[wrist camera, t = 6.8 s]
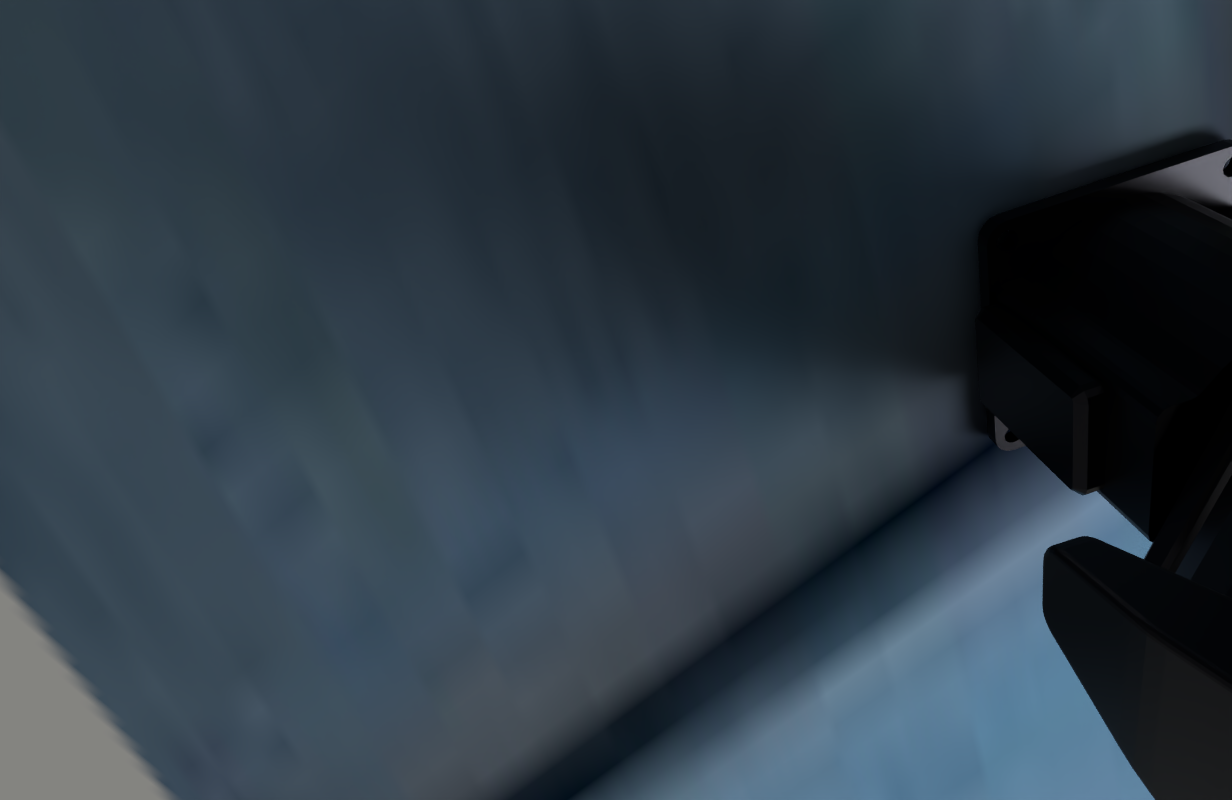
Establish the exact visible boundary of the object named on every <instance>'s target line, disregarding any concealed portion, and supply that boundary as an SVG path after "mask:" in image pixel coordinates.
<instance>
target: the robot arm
mask: <svg viewBox="0 0 1232 800" xmlns="http://www.w3.org/2000/svg"><path fill="white" fill-rule="evenodd" d="M1229 158H1231V159H1230V162H1229V164H1228V165H1227V167H1226V168H1225V169H1223V168H1224V165H1225V163H1226V162H1227V161H1228V159H1229ZM1007 230H1009V233H1008V237H1007V238H1006V239H1005V241H1004V242H1002V243H1000V244H999V245H997V242H998V238H999V237H1000V236H1001V234H1002V233H1004V232H1005V231H1007ZM978 254H979V274H980V294H981V309H980V310H979V312H978V314H977V317H976V319H975V323H976V342H977V360H978V378H979V397H980V401H981V402H982V404H983V405H984V406H985V407H986V412H987V432H988V435H989V438H990V439H991V440H992V441H993V442H994V443H995V444H996V445H997V446H998V447H999V448H1000V449H1002V450H1007V451H1009V450H1015V449H1017V448H1020V447H1023V446H1027V447H1028V448H1029V449H1030V450H1031V451H1032V452H1033V453H1034V454H1035V455H1036V456H1037V457H1038V458H1039V459H1040V460H1041V461H1042V462H1043V463H1044V464H1045V465H1046V466H1047V467H1048V468H1049V469H1050V470H1051V471H1052V472H1053V473H1054V474H1055V475H1056V476H1057V477H1058V478H1059V479H1060V480H1061V481H1062V482H1063V483H1064V484H1066V485H1067V486H1068V487H1069V488H1070V489H1071V490H1073V491H1075V492H1077V493H1079V494H1081V495H1086V494H1089V493H1091V492H1094V491H1097V492H1098V493H1099V494H1101V495H1102V496H1103V497H1104V498H1105V499H1106V500H1107V501H1108V502H1109V503H1110V504H1111V505H1112V506H1113V507H1114V508H1115V509H1116V510H1118V511H1119V512H1120V513H1121V514H1122V515H1123V516H1124V517H1125V518H1126V519H1127V520H1128V521H1129V522H1130V523H1131V524H1132V525H1133V526H1135V527H1136V528H1137V529H1138V530H1139V531H1140V532H1141V533H1142V534H1143V535H1144V536H1145V537H1146V538H1147V539H1148V540H1149V541H1151V542H1153V543H1152V545H1151V547H1150V549H1149V550H1148V552H1147V554H1146V556H1145V558H1144V559H1142V558H1139V557H1137V556H1135V555H1133V554H1130V553H1128V552H1126V551H1123V550H1121V549H1119V548H1117V547H1114V546H1112V545H1110V544H1107V543H1105V542H1103V541H1101V540H1098V539H1096V538H1093V537H1088V536H1082V537H1078V538H1075V539H1071V540H1068V541H1065V542H1062V543H1059V544H1056V545H1053V546H1051V547H1049V548H1048V549H1047V550H1046V552H1045V554H1044V560H1043V613H1044V617H1045V620H1046V623H1047V625H1048V627H1049V629H1050V631H1051V633H1052V635H1053V637H1054V638H1055V640H1056V642H1057V643H1058V645H1059V647H1060V648H1061V650H1062V652H1063V653H1064V655H1065V657H1066V658H1067V660H1068V662H1069V663H1070V665H1071V667H1072V668H1073V670H1074V672H1075V674H1076V675H1077V677H1078V679H1079V680H1080V682H1081V684H1082V685H1083V687H1084V689H1085V690H1086V692H1087V694H1088V695H1089V697H1090V699H1091V700H1092V702H1093V704H1094V705H1095V707H1096V709H1097V710H1098V712H1099V714H1100V716H1101V717H1102V719H1103V721H1104V722H1105V724H1106V726H1107V727H1108V729H1109V731H1110V732H1111V734H1112V736H1113V737H1114V739H1115V741H1116V742H1117V744H1118V746H1119V747H1120V749H1121V751H1122V752H1123V754H1124V755H1125V757H1126V758H1127V760H1128V762H1129V763H1130V765H1131V766H1132V768H1133V769H1134V771H1135V772H1136V774H1137V775H1138V776H1139V778H1140V779H1141V781H1142V782H1143V784H1144V785H1145V786H1146V788H1147V789H1148V791H1149V792H1150V793H1151V795H1152V796H1153V797H1154V799H1155V800H1232V140H1223V141H1219V142H1216V143H1213V144H1210V145H1207V146H1204V147H1201V148H1198V149H1195V150H1192V151H1189V152H1186V153H1183V154H1180V155H1177V156H1174V157H1171V158H1168V159H1165V160H1162V161H1159V162H1156V163H1152V164H1149V165H1146V166H1143V167H1140V168H1137V169H1134V170H1131V171H1128V172H1125V173H1122V174H1119V175H1116V176H1113V177H1110V178H1107V179H1104V180H1101V181H1098V182H1095V183H1092V184H1089V185H1085V186H1082V187H1079V188H1076V189H1073V190H1070V191H1067V192H1064V193H1061V194H1058V195H1055V196H1052V197H1049V198H1046V199H1043V200H1040V201H1037V202H1034V203H1031V204H1028V205H1025V206H1022V207H1018V208H1015V209H1012V210H1009V211H1006V212H1003V213H1000V214H997V215H995V216H994V217H992V218H990V219H989V220H988V221H987V222H986V223H985V224H984V225H983V226H982V228H981V230H980V232H979V237H978ZM1008 429H1009V430H1010V432H1008V433H1007V434H1005V433H1006V432H1007V431H1008Z"/></svg>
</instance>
